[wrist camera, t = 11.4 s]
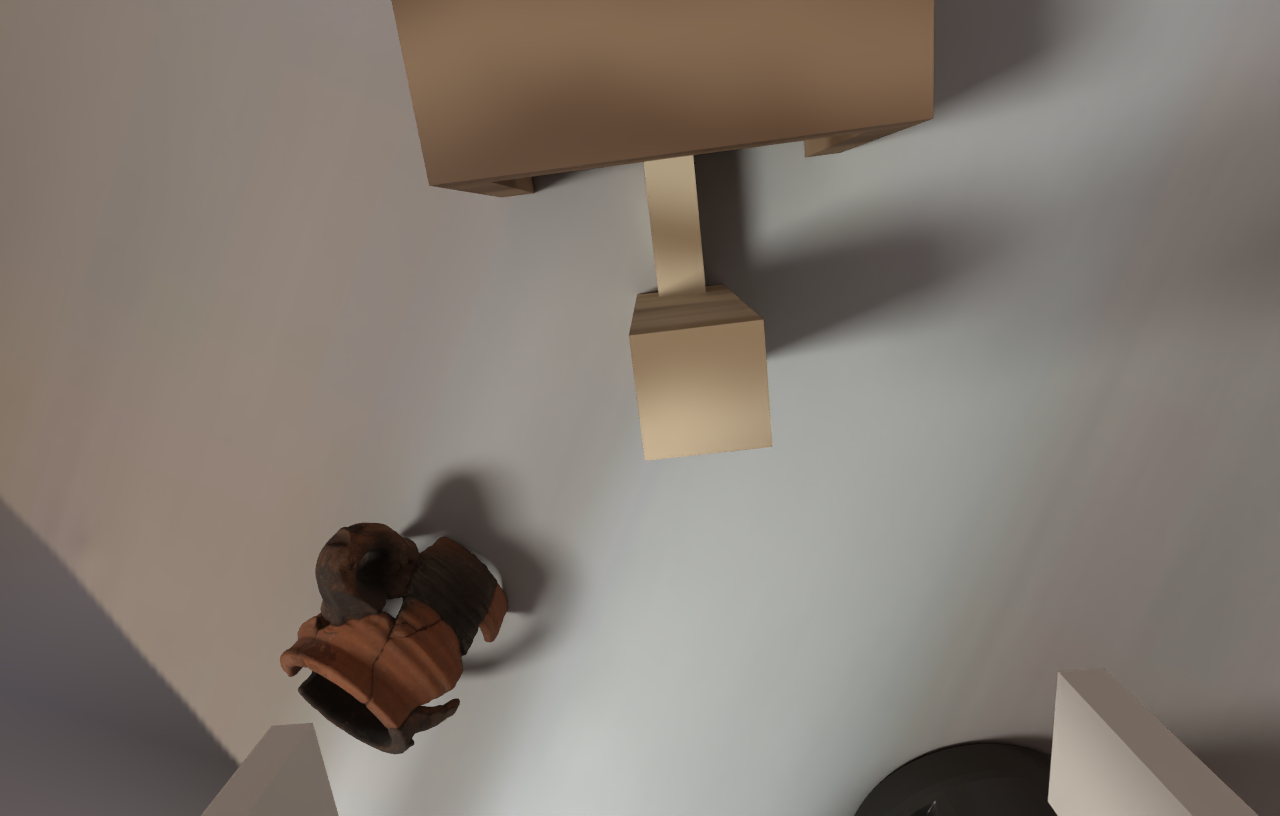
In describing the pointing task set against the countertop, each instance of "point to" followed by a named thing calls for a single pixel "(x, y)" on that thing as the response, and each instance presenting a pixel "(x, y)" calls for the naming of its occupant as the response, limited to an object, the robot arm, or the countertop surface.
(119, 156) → the countertop surface
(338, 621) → the pottery mug
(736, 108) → the walnut bench
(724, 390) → the wooden mallet
